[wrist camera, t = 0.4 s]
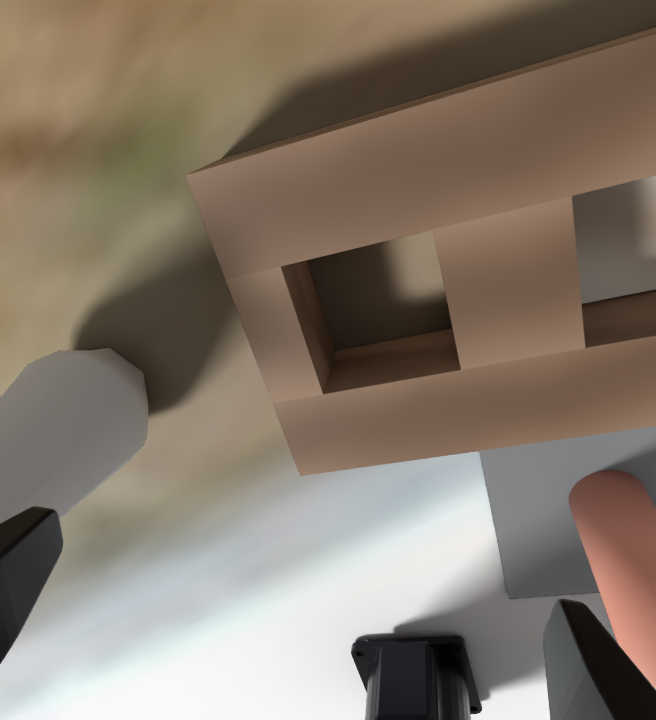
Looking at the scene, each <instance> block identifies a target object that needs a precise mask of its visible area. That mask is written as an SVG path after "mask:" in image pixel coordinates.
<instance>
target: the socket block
mask: <svg viewBox="0 0 656 720" xmlns="http://www.w3.org/2000/svg"><path fill="white" fill-rule="evenodd" d="M185 176H186V178H187V181H188V184H189V186H190V189H191V191H192V194H193V197H194V199H195V202H196V204H197V207H198V210H199V212H200V215H201V218H202V220H203V223H204V225H205V228H206V231H207V233H208V236H209V238H210V241H211V244H212V246H213V249H214V252H215V254H216V257H217V259H218V262H219V265H220V267H221V270H222V272H223V275H224V278H225V280H226V283H227V286H228V288H229V291H230V293H231V296H232V299H233V301H234V304H235V307H236V309H237V312H238V314H239V317H240V320H241V322H242V325H243V327H244V330H245V333H246V335H247V338H248V341H249V343H250V346H251V348H252V351H253V354H254V356H255V359H256V361H257V364H258V367H259V369H260V372H261V375H262V377H263V380H264V382H265V385H266V388H267V390H268V393H269V395H270V398H271V401H272V403H273V406H274V409H275V411H276V414H277V416H278V419H279V422H280V424H281V427H282V430H283V432H284V435H285V437H286V440H287V443H288V445H289V448H290V450H291V453H292V456H293V458H294V461H295V464H296V466H297V469H298V471H299V474H300V476H303V475H310V474H317V473H324V472H331V471H338V470H346V469H353V468H360V467H367V466H374V465H381V464H389V463H396V462H403V461H410V460H417V459H425V458H432V457H439V456H446V455H453V454H460V453H468V452H475V451H482V450H489V449H496V448H503V447H511V446H518V445H525V444H532V443H539V442H547V441H554V440H561V439H568V438H575V437H582V436H590V435H597V434H604V433H611V432H618V431H626V430H633V429H640V428H647V427H654V426H656V27H653V28H650V29H647V30H644V31H640V32H637V33H634V34H630V35H627V36H624V37H621V38H617V39H614V40H611V41H607V42H604V43H601V44H598V45H594V46H591V47H588V48H584V49H581V50H578V51H575V52H571V53H568V54H565V55H561V56H558V57H555V58H551V59H548V60H545V61H542V62H538V63H535V64H532V65H528V66H525V67H522V68H519V69H515V70H512V71H509V72H505V73H502V74H499V75H496V76H492V77H489V78H486V79H482V80H479V81H476V82H473V83H469V84H466V85H463V86H459V87H456V88H453V89H449V90H446V91H443V92H440V93H436V94H433V95H430V96H426V97H423V98H420V99H417V100H413V101H410V102H407V103H403V104H400V105H397V106H394V107H390V108H387V109H384V110H380V111H377V112H374V113H371V114H367V115H364V116H361V117H357V118H354V119H351V120H347V121H344V122H341V123H338V124H334V125H331V126H328V127H324V128H321V129H318V130H315V131H311V132H308V133H305V134H301V135H298V136H295V137H292V138H288V139H285V140H282V141H278V142H275V143H272V144H269V145H265V146H262V147H259V148H255V149H252V150H249V151H245V152H242V153H239V154H236V155H232V156H229V157H226V158H222V159H220V160H217V161H215V162H213V163H211V164H209V165H207V166H205V167H203V168H200V169H198V170H196V171H194V172H192V173H190V174H188V175H185ZM429 230H433V234H434V239H435V244H436V249H437V254H438V259H439V264H440V268H441V273H442V278H443V283H444V288H445V293H446V298H447V303H448V308H449V313H450V318H451V323H452V328H451V329H446V330H441V331H436V332H431V333H426V334H421V335H416V336H410V337H405V338H400V339H395V340H390V341H385V342H380V343H375V344H370V345H365V346H359V347H354V348H349V349H344V350H339V351H335V349H334V346H333V343H332V339H331V336H330V333H329V330H328V327H327V323H326V320H325V317H324V314H323V310H322V307H321V304H320V301H319V297H318V294H317V291H316V288H315V285H314V281H313V278H312V275H311V272H310V268H309V265H308V262H307V260H310V259H314V258H318V257H322V256H326V255H330V254H334V253H338V252H343V251H347V250H351V249H355V248H359V247H363V246H367V245H371V244H376V243H380V242H384V241H388V240H392V239H396V238H400V237H404V236H409V235H413V234H417V233H421V232H425V231H429Z"/></svg>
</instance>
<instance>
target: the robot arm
mask: <svg viewBox="0 0 656 720" xmlns="http://www.w3.org/2000/svg"><path fill="white" fill-rule="evenodd" d="M62 548H63V537H62V531H61V526H60V521H59V515H58V513H57V511H56V510H54V509H51V508H46V507H40V506H33V507H30V508H28V509H26V510H24V511H22V512H21V513H19V514H17V515H15V516H13V517H11V518H9V519H7V520H5V521H4V522H2V523H0V664H1V662H2V661H3V659H4V658H5V656H6V655H7V653H8V651H9V650H10V648H11V647H12V645H13V644H14V642H15V640H16V639H17V637H18V635H19V634H20V632H21V630H22V628H23V626H24V625H25V623H26V621H27V619H28V617H29V615H30V613H31V611H32V609H33V607H34V605H35V603H36V601H37V600H38V598H39V596H40V594H41V592H42V590H43V588H44V586H45V584H46V582H47V580H48V578H49V576H50V574H51V572H52V570H53V568H54V566H55V564H56V562H57V560H58V559H59V557H60V554H61V552H62ZM543 647H544V657H545V667H546V678H547V688H548V699H549V709H550V719H551V720H656V689H655V688H654V687H653V686H652V684H651V683H650V682H649V681H648V679H647V678H646V677H645V676H644V675H643V673H642V672H641V671H640V670H639V669H638V667H637V666H636V665H635V664H634V663H633V661H632V660H631V659H630V658H629V656H628V655H627V654H626V653H625V652H624V650H623V649H622V648H621V647H620V646H619V644H618V643H617V642H616V641H615V639H614V638H613V637H612V636H611V635H610V633H609V632H608V631H607V630H606V629H605V627H604V626H603V625H602V624H601V623H600V621H599V620H598V619H597V618H596V616H595V615H594V614H593V613H592V612H591V610H590V609H589V608H588V607H587V606H586V605H585V604H584V603H582V602H578V601H572V600H567V599H559V600H558V601H556V603H555V605H554V607H553V610H552V612H551V615H550V617H549V620H548V622H547V624H546V627H545V630H544V635H543ZM351 654H352V657H353V659H354V662H355V664H356V667H357V669H358V672H359V674H360V677H361V679H362V682H363V684H364V687H365V689H366V692H367V701H366V714H365V720H471V716H470V714H478V713H480V712H481V711H482V704H481V699H480V695H479V691H478V688H477V684H476V680H475V676H474V672H473V669H472V665H471V661H470V657H469V653H468V650H467V646H466V642H465V640H464V639H463V638H462V637H459V636H449V637H431V638H414V639H397V640H379V641H362V642H355V643H353V645H352V649H351Z"/></svg>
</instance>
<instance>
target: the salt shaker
mask: <svg viewBox="0 0 656 720" xmlns="http://www.w3.org/2000/svg"><path fill="white" fill-rule="evenodd" d="M148 408H149V405H148V399H147V393H146V387H145V381H144V375H143V372H142V371H141V370H140V369H138V368H137V367H135V366H134V365H133V364H131V363H130V362H128V361H127V360H126V359H124V358H123V357H122V356H120V355H119V354H117V353H116V352H115V351H113V350H112V349H111V348H104V349H97V350H66V351H57V352H55V353H52V354H50V355H47V356H45V357H43V358H40V359H38V360H36V361H34V362H32V363H30V364H28V365H27V366H26V367H25V369H24V370H23V371H22V372H21V373H20V375H19V376H18V377H17V378H16V379H15V381H14V382H13V383H12V384H11V386H10V387H9V388H8V389H7V390H6V392H5V393H4V394H3V395H2V397H1V398H0V523H2V522H4V521H5V520H7V519H9V518H11V517H13V516H15V515H17V514H19V513H21V512H22V511H24V510H26V509H28V508H30V507H33V506H40V507H46V508H51V509H54V510H56V511H57V513H58V515H59V519H60V518H61V517H63V516H64V515H65V514H66V513H67V512H69V511H70V510H71V509H72V508H73V507H75V506H76V505H77V504H78V503H79V502H81V501H82V500H83V499H84V498H85V497H87V496H88V495H89V494H90V493H91V492H93V491H94V490H95V489H96V488H97V487H99V486H100V485H101V484H102V483H103V482H105V481H106V480H107V479H108V478H109V477H111V476H112V475H113V474H114V473H115V472H117V471H118V470H119V469H120V468H121V467H123V466H124V465H125V464H126V463H127V462H129V461H130V460H131V458H132V457H133V456H134V455H135V454H136V453H137V452H138V450H139V449H140V448H141V447H142V446H143V445H144V442H145V440H146V438H147V428H148Z"/></svg>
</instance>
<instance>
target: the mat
mask: <svg viewBox="0 0 656 720" xmlns="http://www.w3.org/2000/svg"><path fill="white" fill-rule="evenodd" d="M479 452H480V457H481V462H482V467H483V472H484V477H485V482H486V487H487V492H488V497H489V502H490V507H491V512H492V517H493V522H494V527H495V532H496V537H497V542H498V547H499V552H500V557H501V562H502V567H503V571H504V576H505V581H506V586H507V591H508V596H509V599H518V598H532V597H546V596H559V595H573V594H587V593H600V592H599V589H598V586H597V583H596V580H595V578H594V575H593V572H592V569H591V566H590V563H589V561H588V558H587V555H586V552H585V549H584V546H583V544H582V541H581V538H580V535H579V532H578V529H577V527H576V524H575V521H574V518H573V515H572V513H571V510H570V507H569V501H568V499H569V494H570V492H571V490H572V488H573V487H574V485H575V484H576V483H577V482H578V481H580V480H581V479H582V478H584V477H585V476H587V475H589V474H592V473H595V472H599V471H604V470H618V471H623V472H627V473H629V474H631V475H633V476H635V477H636V478H638V479H639V480H640V481H641V482H642V484H643V485H644V487H645V489H646V491H647V493H648V494H649V496H650V498H651V500H652V502H653V504H654V505H655V507H656V426H654V427H647V428H640V429H633V430H626V431H618V432H611V433H604V434H597V435H590V436H582V437H575V438H568V439H561V440H554V441H547V442H539V443H532V444H525V445H518V446H511V447H503V448H496V449H489V450H482V451H479Z"/></svg>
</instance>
